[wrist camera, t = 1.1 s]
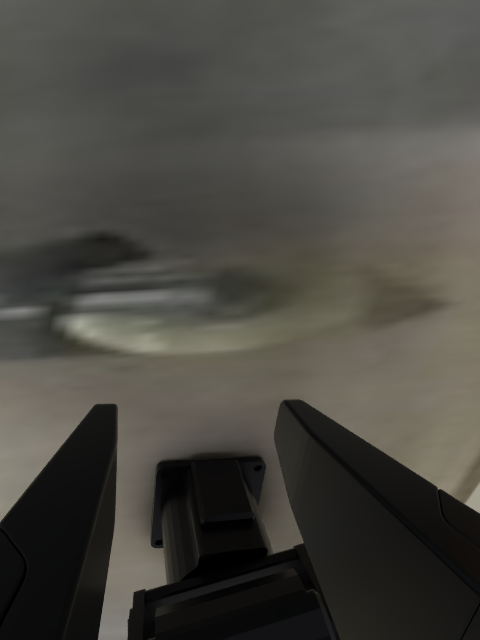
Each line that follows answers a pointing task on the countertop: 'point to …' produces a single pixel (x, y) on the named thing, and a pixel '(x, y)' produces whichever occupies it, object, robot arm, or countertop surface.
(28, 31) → the countertop surface
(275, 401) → the countertop surface
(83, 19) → the countertop surface
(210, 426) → the countertop surface
